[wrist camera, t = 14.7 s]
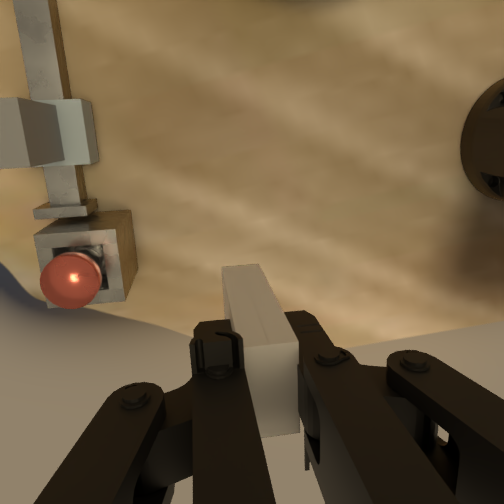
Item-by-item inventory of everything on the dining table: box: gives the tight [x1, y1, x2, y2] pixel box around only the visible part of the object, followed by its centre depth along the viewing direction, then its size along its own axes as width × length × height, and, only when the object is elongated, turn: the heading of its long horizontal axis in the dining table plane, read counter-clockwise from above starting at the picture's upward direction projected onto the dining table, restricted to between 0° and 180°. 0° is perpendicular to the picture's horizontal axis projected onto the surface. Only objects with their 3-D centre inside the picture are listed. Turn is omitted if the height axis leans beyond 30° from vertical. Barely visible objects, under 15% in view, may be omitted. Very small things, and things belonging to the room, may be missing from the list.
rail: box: [13, 0, 98, 219], centre depth 40 cm, size 5×27×5 cm, turn 3°
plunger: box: [40, 244, 105, 309], centre depth 38 cm, size 5×5×7 cm
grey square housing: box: [33, 210, 138, 308], centre depth 43 cm, size 7×7×10 cm
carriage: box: [0, 97, 99, 169], centre depth 37 cm, size 7×6×14 cm
